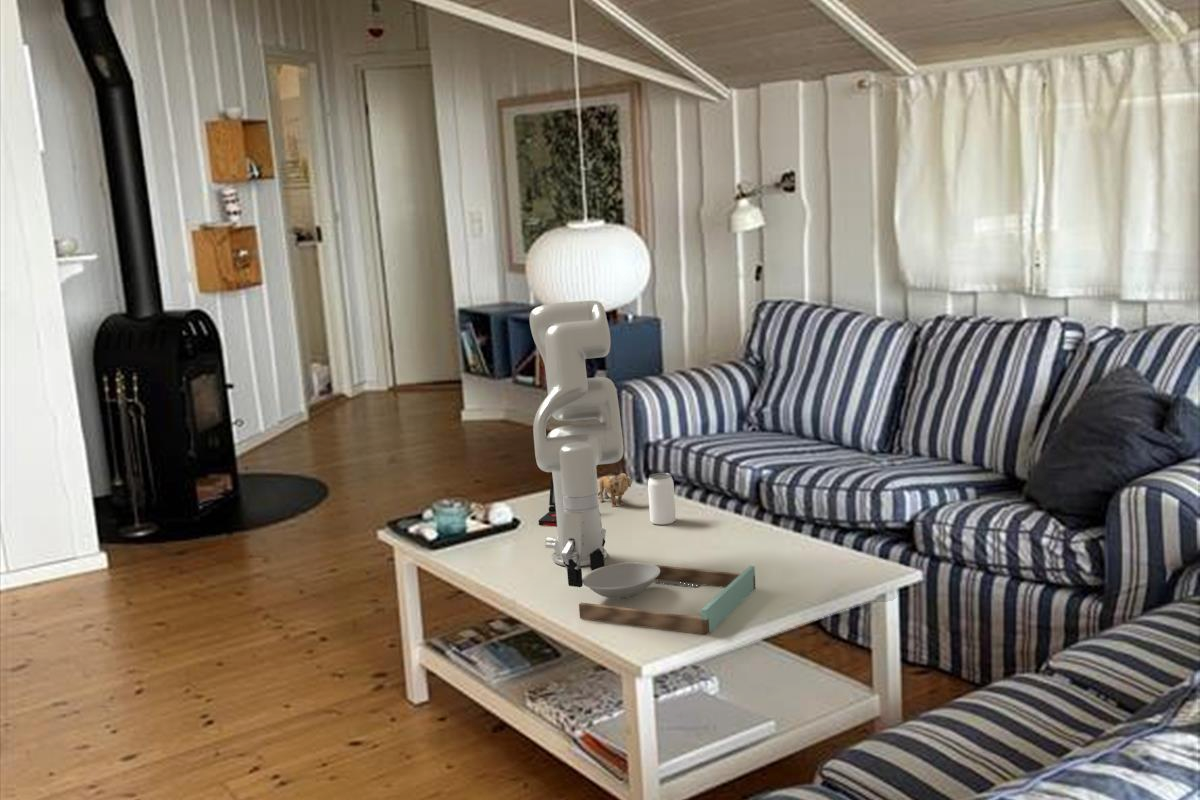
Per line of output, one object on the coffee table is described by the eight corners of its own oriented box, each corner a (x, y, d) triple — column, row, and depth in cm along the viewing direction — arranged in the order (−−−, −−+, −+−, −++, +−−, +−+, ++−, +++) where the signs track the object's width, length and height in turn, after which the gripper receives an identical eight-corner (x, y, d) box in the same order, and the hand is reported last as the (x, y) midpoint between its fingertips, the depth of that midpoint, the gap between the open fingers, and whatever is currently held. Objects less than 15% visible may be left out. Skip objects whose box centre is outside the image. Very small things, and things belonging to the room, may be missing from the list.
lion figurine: (636, 505, 322) (634, 472, 320) (621, 510, 319) (618, 477, 317) (603, 495, 334) (600, 464, 332) (587, 500, 330) (585, 468, 329)
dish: (633, 578, 266) (632, 557, 265) (676, 594, 255) (675, 571, 254) (569, 600, 256) (567, 577, 255) (611, 617, 245) (609, 594, 244)
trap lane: (579, 618, 246) (578, 594, 245) (636, 575, 268) (634, 554, 267) (707, 634, 233) (706, 610, 232) (755, 588, 255) (754, 566, 254)
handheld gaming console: (537, 526, 311) (534, 488, 309) (554, 512, 322) (551, 476, 320) (571, 527, 308) (568, 489, 306) (587, 513, 319) (584, 476, 317)
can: (676, 524, 303) (673, 478, 300) (650, 526, 303) (647, 480, 301) (675, 517, 309) (672, 471, 307) (649, 518, 309) (647, 473, 307)
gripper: (585, 489, 264) (591, 564, 268) (544, 511, 250) (551, 590, 253) (615, 491, 261) (621, 567, 264) (576, 514, 246) (582, 594, 249)
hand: (586, 578), depth 258 cm, fingers open, 9 cm apart
